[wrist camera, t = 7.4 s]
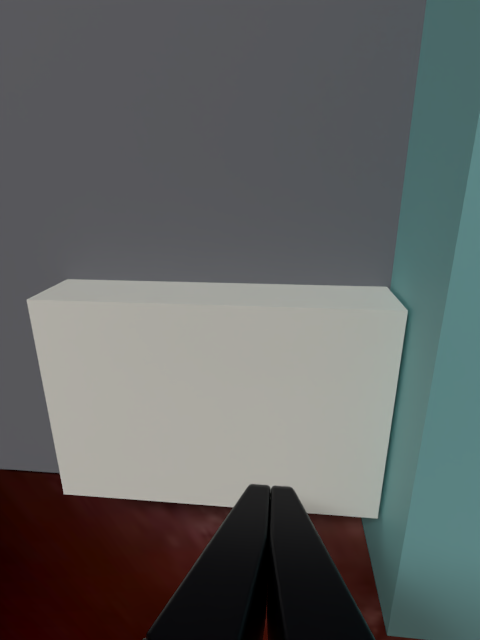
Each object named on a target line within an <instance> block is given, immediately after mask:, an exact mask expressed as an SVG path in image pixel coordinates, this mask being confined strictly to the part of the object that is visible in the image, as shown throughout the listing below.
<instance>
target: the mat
mask: <svg viewBox="0 0 480 640" xmlns="http://www.w3.org/2000/svg"><path fill="white" fill-rule="evenodd" d="M426 1H427V0H0V469H10V470H24V471H38V472H52V473H60V471H59V466H58V461H57V456H56V450H55V445H54V440H53V435H52V430H51V424H50V419H49V414H48V409H47V404H46V398H45V393H44V388H43V383H42V378H41V373H40V367H39V362H38V357H37V352H36V347H35V341H34V336H33V331H32V326H31V321H30V315H29V310H28V305H27V299H29V298H31V297H33V296H35V295H37V294H39V293H41V292H43V291H45V290H47V289H49V288H51V287H53V286H55V285H57V284H59V283H61V282H63V281H65V280H67V279H82V280H124V281H166V282H208V283H250V284H293V285H335V286H377V287H388V288H389V290H390V287H391V279H392V271H393V263H394V255H395V247H396V239H397V232H398V224H399V216H400V208H401V200H402V192H403V184H404V176H405V168H406V160H407V152H408V144H409V136H410V128H411V120H412V112H413V104H414V96H415V88H416V81H417V73H418V65H419V57H420V49H421V41H422V33H423V25H424V17H425V9H426Z"/></svg>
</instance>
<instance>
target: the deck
mask: <svg viewBox="0 0 480 640" xmlns="http://www.w3.org/2000/svg"><path fill="white" fill-rule="evenodd" d="M390 291H391V292H392V293H393V294H394V295H395V296H396V298H397V299H398V300H399V301H400V302H401V303H402V305H403V306H404V307H405V308H406V309H407V310H408V314H407V320H406V327H405V334H404V341H403V348H402V355H401V361H400V368H399V375H398V382H397V389H396V396H395V402H394V409H393V416H392V423H391V430H390V437H389V444H388V450H387V457H386V464H385V471H384V478H383V485H382V491H381V498H380V505H379V512H378V519H376V518H364V517H361V519H362V523H363V528H364V532H365V537H366V541H367V546H368V551H369V555H370V560H371V564H372V569H373V574H374V578H375V583H376V587H377V592H378V596H379V601H380V606H381V610H382V615H383V619H384V624H385V628H386V633H387V636H396V637H406V638H415V639H425V640H480V0H427V1H426V9H425V17H424V25H423V33H422V41H421V49H420V57H419V65H418V73H417V81H416V88H415V96H414V104H413V112H412V120H411V128H410V136H409V144H408V152H407V160H406V168H405V176H404V184H403V192H402V200H401V208H400V216H399V224H398V232H397V239H396V247H395V255H394V263H393V271H392V279H391V287H390Z"/></svg>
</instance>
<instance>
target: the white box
mask: <svg viewBox="0 0 480 640" xmlns="http://www.w3.org/2000/svg"><path fill="white" fill-rule="evenodd" d="M27 305H28V310H29V315H30V321H31V326H32V331H33V336H34V341H35V347H36V352H37V357H38V362H39V367H40V373H41V378H42V383H43V388H44V393H45V398H46V404H47V409H48V414H49V419H50V424H51V430H52V435H53V440H54V445H55V450H56V456H57V461H58V466H59V471H60V476H61V482H62V487H63V492H64V494H69V495H82V496H95V497H108V498H121V499H133V500H146V501H159V502H172V503H185V504H197V505H210V506H223V507H234V506H235V504H236V503H237V501H238V500H239V498H240V497H241V495H242V494H243V493H244V491H245V490H246V488H247V487H248V486H249V485H250V484H262V485H269V486H270V488H272V486H275V485H276V486H290V487H292V488H293V489H294V490H295V492H296V494H297V496H298V498H299V499H300V501H301V503H302V505H303V507H304V509H305V511H306V512H307V513H312V514H325V515H338V516H351V517H364V518H376V519H378V512H379V505H380V498H381V491H382V485H383V478H384V471H385V464H386V457H387V450H388V444H389V437H390V430H391V423H392V416H393V409H394V402H395V396H396V389H397V382H398V375H399V368H400V361H401V355H402V348H403V341H404V334H405V327H406V320H407V314H408V310H407V309H406V308H405V307H404V306H403V305H402V303H401V302H400V301H399V300H398V299H397V298H396V296H395V295H394V294H393V293H392V292H391V291H390V290H389V288H388V287H377V286H335V285H293V284H250V283H208V282H166V281H124V280H82V279H67V280H65V281H63V282H61V283H59V284H57V285H55V286H53V287H51V288H49V289H47V290H45V291H43V292H41V293H39V294H37V295H35V296H33V297H31V298H29V299H27Z"/></svg>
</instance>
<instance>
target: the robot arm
mask: <svg viewBox="0 0 480 640" xmlns="http://www.w3.org/2000/svg"><path fill="white" fill-rule="evenodd" d="M267 585H268V588H267ZM266 607H267V628H268V640H375V638H374V636H373V634H372V632H371V631H370V629H369V627H368V625H367V623H366V621H365V619H364V618H363V616H362V614H361V612H360V610H359V608H358V607H357V605H356V603H355V601H354V599H353V597H352V595H351V594H350V592H349V590H348V588H347V586H346V584H345V583H344V581H343V579H342V577H341V575H340V573H339V571H338V570H337V568H336V566H335V564H334V562H333V560H332V559H331V557H330V555H329V553H328V551H327V549H326V547H325V546H324V544H323V542H322V540H321V538H320V536H319V535H318V533H317V531H316V529H315V527H314V525H313V523H312V522H311V520H310V518H309V516H308V514H307V512H306V511H305V509H304V507H303V505H302V503H301V501H300V499H299V498H298V496H297V494H296V492H295V490H294V489H293V488H292V487H290V486H276V485H275V486H272V488H270V486H269V485H262V484H250V485H249V486H248V487H247V488H246V490H245V491H244V493H243V494H242V495H241V497H240V498H239V500H238V501H237V503H236V504H235V506H234V507H233V509H232V510H231V511H230V513H229V514H228V516H227V517H226V519H225V520H224V522H223V523H222V525H221V526H220V527H219V529H218V530H217V532H216V533H215V535H214V536H213V538H212V539H211V541H210V542H209V543H208V545H207V546H206V548H205V549H204V551H203V552H202V554H201V555H200V557H199V558H198V559H197V561H196V562H195V564H194V565H193V567H192V568H191V570H190V571H189V573H188V574H187V575H186V577H185V578H184V580H183V581H182V583H181V584H180V586H179V587H178V589H177V590H176V592H175V593H174V594H173V596H172V597H171V599H170V600H169V602H168V603H167V605H166V606H165V608H164V609H163V610H162V612H161V613H160V615H159V616H158V618H157V619H156V621H155V622H154V624H153V625H152V626H151V628H150V629H149V631H148V632H147V634H146V637H147V639H146V638H143V639H142V640H263V635H264V627H265V619H266Z"/></svg>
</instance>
